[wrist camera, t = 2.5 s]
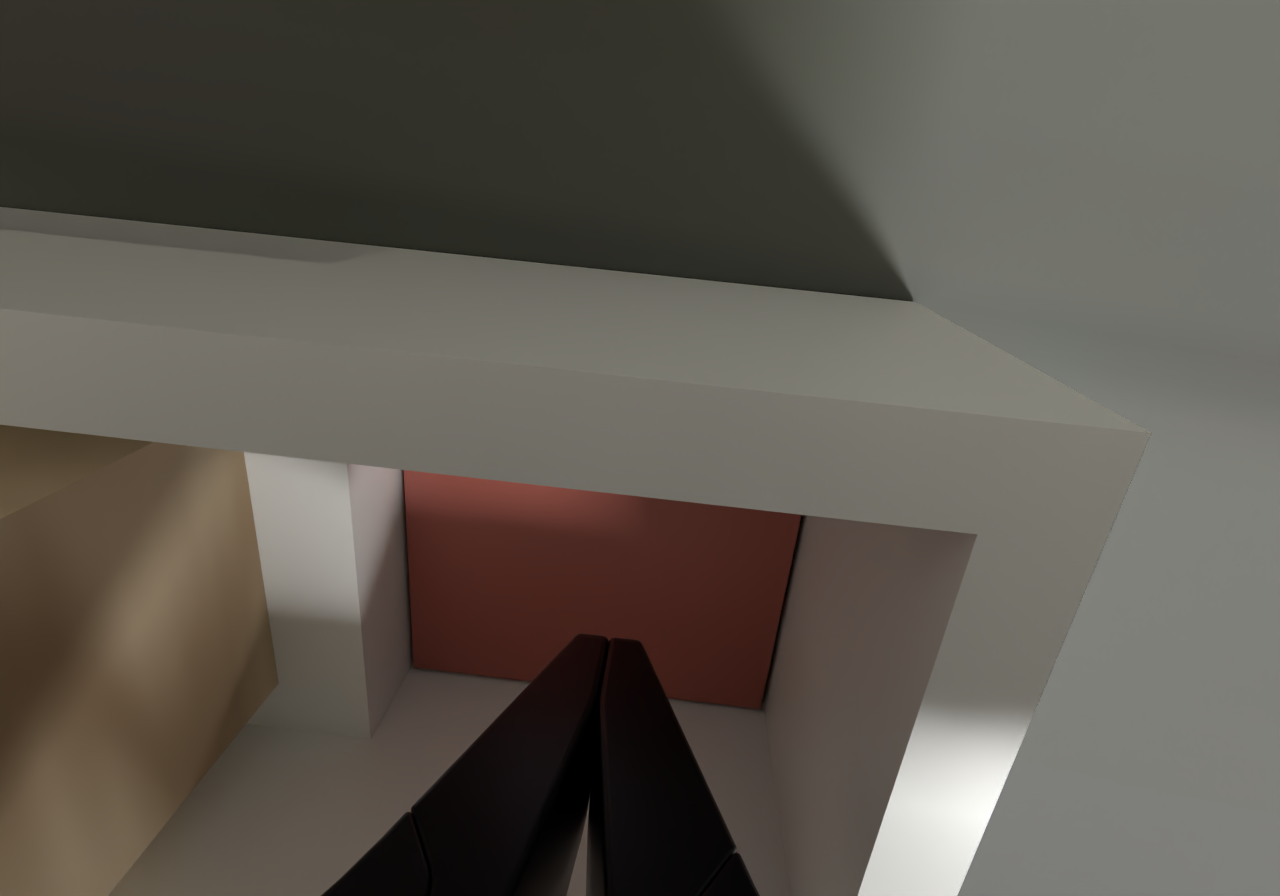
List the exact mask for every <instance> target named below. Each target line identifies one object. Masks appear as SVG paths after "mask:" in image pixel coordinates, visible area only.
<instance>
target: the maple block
mask: <svg viewBox="0 0 1280 896" xmlns="http://www.w3.org/2000/svg"><path fill="white" fill-rule="evenodd" d="M278 684H279V681H278V675H277V668H276V661H275V655H274V648H273V642H272V635H271V628H270V622H269V615H268V609H267V602H266V595H265V589H264V582H263V576H262V569H261V562H260V556H259V549H258V543H257V536H256V529H255V523H254V516H253V510H252V503H251V496H250V490H249V483H248V477H247V470H246V463H245V457H244V452H240V451H231V450H222V449H213V448H204V447H195V446H186V445H177V444H169V443H160V442H151V441H142V440H133V439H124V438H115V437H106V436H98V435H89V434H80V433H71V432H62V431H53V430H44V429H35V428H26V427H18V426H9V425H0V896H108V895H109V894H110V893H111V892H112V890H113V889H114V888H115V887H116V885H117V884H118V883H119V882H120V880H121V879H122V878H123V877H124V875H125V874H126V873H127V872H128V870H129V869H130V868H131V867H132V865H133V864H134V863H135V862H136V860H137V859H138V858H139V857H140V855H141V854H142V853H143V852H144V850H145V849H146V848H147V847H148V845H149V844H150V843H151V842H152V841H153V839H154V838H155V837H156V836H157V834H158V833H159V832H160V831H161V829H162V828H163V827H164V826H165V824H166V823H167V822H168V821H169V819H170V818H171V817H172V816H173V814H174V813H175V812H176V811H177V809H178V808H179V807H180V806H181V804H182V803H183V802H184V801H185V799H186V798H187V797H188V796H189V794H190V793H191V792H192V791H193V789H194V788H195V787H196V786H197V784H198V783H199V782H200V781H201V779H202V778H203V777H204V776H205V775H206V773H207V772H208V771H209V770H210V768H211V767H212V766H213V765H214V763H215V762H216V761H217V760H218V758H219V757H220V756H221V755H222V753H223V752H224V751H225V750H226V748H227V747H228V746H229V745H230V743H231V742H232V741H233V740H234V738H235V737H236V736H237V735H238V733H239V732H240V731H241V730H242V728H243V727H244V726H245V725H246V723H247V722H248V721H249V720H250V718H251V717H252V716H253V715H254V714H255V712H256V711H257V710H258V709H259V707H260V706H261V705H262V704H263V702H264V701H265V700H266V699H267V697H268V696H269V695H270V694H271V692H272V691H273V690H274V689H275V687H276V686H277V685H278Z"/></svg>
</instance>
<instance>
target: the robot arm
mask: <svg viewBox="0 0 1280 896" xmlns="http://www.w3.org/2000/svg"><path fill="white" fill-rule="evenodd" d="M589 799H590V801H589ZM588 805H589V813H588V830H587V867H586V896H760V895H759V893H758V891H757V889H756V887H755V885H754V883H753V880H752V878H751V876H750V874H749V872H748V870H747V867H746V865H745V863H744V861H743V859H742V857H741V855H740V854H739V853H737V847H736V845H735V842H734V840H733V838H732V836H731V834H730V832H729V829H728V827H727V825H726V823H725V821H724V819H723V816H722V814H721V812H720V810H719V808H718V806H717V804H716V801H715V799H714V797H713V795H712V793H711V791H710V788H709V786H708V784H707V782H706V780H705V778H704V775H703V773H702V771H701V769H700V767H699V765H698V763H697V760H696V758H695V756H694V754H693V752H692V750H691V747H690V745H689V743H688V741H687V739H686V737H685V734H684V732H683V730H682V728H681V726H680V724H679V722H678V719H677V717H676V715H675V713H674V711H673V709H672V706H671V704H670V702H669V700H668V698H667V696H666V693H665V691H664V689H663V687H662V685H661V683H660V681H659V678H658V676H657V674H656V672H655V670H654V668H653V665H652V663H651V661H650V659H649V657H648V655H647V652H646V650H645V648H644V646H643V644H642V643H641V642H640V641H639V640H635V639H626V638H617V637H613V638H611V640H610V641H609V640H608V638H607V637H606V636H600V635H592V634H583V633H582V634H578V635H576V636H575V637H574V638H573V639H572V640H571V641H570V642H569V643H568V644H567V645H566V646H565V647H564V649H563V650H562V651H561V652H560V653H559V654H558V655H557V656H556V657H555V658H554V659H553V660H552V661H551V662H550V663H549V664H548V665H547V666H546V667H545V668H544V669H543V670H542V671H541V672H540V673H539V675H538V676H537V677H536V678H535V679H534V680H533V681H532V682H531V683H530V684H529V685H528V686H527V687H526V688H525V689H524V690H523V691H522V692H521V693H520V694H519V695H518V696H517V697H516V698H515V700H514V701H513V702H512V703H511V704H510V705H509V706H508V707H507V708H506V709H505V710H504V711H503V712H502V713H501V714H500V715H499V716H498V717H497V718H496V719H495V720H494V721H493V722H492V723H491V725H490V726H489V727H488V728H487V729H486V730H485V731H484V732H483V733H482V734H481V735H480V736H479V737H478V738H477V739H476V740H475V741H474V742H473V743H472V744H471V745H470V746H469V747H468V748H467V749H466V751H465V752H464V753H463V754H462V755H461V756H460V757H459V758H458V759H457V760H456V761H455V762H454V763H453V764H452V765H451V766H450V767H449V768H448V769H447V770H446V771H445V772H444V773H443V774H442V776H441V777H440V778H439V779H438V780H437V781H436V782H435V783H434V784H433V785H432V786H431V787H430V788H429V789H428V790H427V791H426V792H425V793H424V794H423V795H422V796H421V797H420V798H419V799H418V801H417V802H416V803H415V804H414V805H413V806H412V807H411V812H406V813H404V815H403V816H402V817H401V818H400V819H399V820H398V821H397V822H396V823H395V824H394V825H393V826H392V827H391V828H390V829H389V830H388V831H387V832H386V833H385V835H384V836H383V837H382V838H381V839H380V840H379V841H378V842H377V843H376V844H375V845H374V846H373V847H372V848H371V849H370V850H368V851H367V852H366V853H365V854H364V855H363V856H362V857H361V858H360V859H359V860H358V861H357V862H356V863H355V864H354V865H353V866H352V867H351V868H350V869H349V870H348V871H347V872H346V873H345V874H344V875H343V876H342V877H341V878H340V879H339V880H338V881H337V882H335V883H334V884H333V885H332V886H331V887H330V888H329V889H328V890H327V891H325V892H324V893H323V894H322V895H321V896H566V895H567V891H568V888H569V884H570V880H571V876H572V872H573V868H574V865H575V861H576V857H577V853H578V849H579V846H580V842H581V838H582V834H583V830H584V825H585V821H586V817H587V811H588Z"/></svg>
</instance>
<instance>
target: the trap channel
mask: <svg viewBox="0 0 1280 896" xmlns="http://www.w3.org/2000/svg"><path fill="white" fill-rule="evenodd" d="M0 425H9V426H18V427H26V428H35V429H44V430H53V431H62V432H71V433H80V434H89V435H98V436H106V437H115V438H124V439H133V440H142V441H151V442H160V443H169V444H177V445H186V446H195V447H204V448H213V449H222V450H231V451H240V452H244V457H245V463H246V470H247V477H248V483H249V490H250V496H251V503H252V510H253V516H254V523H255V529H256V536H257V543H258V549H259V556H260V562H261V569H262V576H263V582H264V589H265V595H266V602H267V609H268V615H269V622H270V628H271V635H272V642H273V648H274V655H275V661H276V668H277V675H278V681H279V684H278V685H277V686H276V687H275V689H274V690H273V691H272V692H271V694H270V695H269V696H268V697H267V699H266V700H265V701H264V702H263V704H262V705H261V706H260V707H259V709H258V710H257V711H256V712H255V714H254V715H253V716H252V717H251V718H250V720H249V721H248V722H247V723H246V725H245V726H244V727H243V728H242V730H241V731H240V732H239V733H238V735H237V736H236V737H235V738H234V740H233V741H232V742H231V743H230V745H229V746H228V747H227V748H226V750H225V751H224V752H223V753H222V755H221V756H220V757H219V758H218V760H217V761H216V762H215V763H214V765H213V766H212V767H211V768H210V770H209V771H208V772H207V773H206V775H205V776H204V777H203V778H202V779H201V781H200V782H199V783H198V784H197V786H196V787H195V788H194V789H193V791H192V792H191V793H190V794H189V796H188V797H187V798H186V799H185V801H184V802H183V803H182V804H181V806H180V807H179V808H178V809H177V811H176V812H175V813H174V814H173V816H172V817H171V818H170V819H169V821H168V822H167V823H166V824H165V826H164V827H163V828H162V829H161V831H160V832H159V833H158V834H157V836H156V837H155V838H154V839H153V841H152V842H151V843H150V844H149V845H148V847H147V848H146V849H145V850H144V852H143V853H142V854H141V855H140V857H139V858H138V859H137V860H136V862H135V863H134V864H133V865H132V867H131V868H130V869H129V870H128V872H127V873H126V874H125V875H124V877H123V878H122V879H121V880H120V882H119V883H118V884H117V885H116V887H115V888H114V889H113V890H112V892H111V893H110V894H109V895H108V896H321V895H322V894H323V893H324V892H325V891H327V890H328V889H329V888H330V887H331V886H332V885H333V884H334V883H335V882H337V881H338V880H339V879H340V878H341V877H342V876H343V875H344V874H345V873H346V872H347V871H348V870H349V869H350V868H351V867H352V866H353V865H354V864H355V863H356V862H357V861H358V860H359V859H360V858H361V857H362V856H363V855H364V854H365V853H366V852H367V851H368V850H370V849H371V848H372V847H373V846H374V845H375V844H376V843H377V842H378V841H379V840H380V839H381V838H382V837H383V836H384V835H385V833H386V832H387V831H388V830H389V829H390V828H391V827H392V826H393V825H394V824H395V823H396V822H397V821H398V820H399V819H400V818H401V817H402V816H403V815H404V813H406V812H411V807H412V806H413V805H414V804H415V803H416V802H417V801H418V799H419V798H420V797H421V796H422V795H423V794H424V793H425V792H426V791H427V790H428V789H429V788H430V787H431V786H432V785H433V784H434V783H435V782H436V781H437V780H438V779H439V778H440V777H441V776H442V774H443V773H444V772H445V771H446V770H447V769H448V768H449V767H450V766H451V765H452V764H453V763H454V762H455V761H456V760H457V759H458V758H459V757H460V756H461V755H462V754H463V753H464V752H465V751H466V749H467V748H468V747H469V746H470V745H471V744H472V743H473V742H474V741H475V740H476V739H477V738H478V737H479V736H480V735H481V734H482V733H483V732H484V731H485V730H486V729H487V728H488V727H489V726H490V725H491V723H492V722H493V721H494V720H495V719H496V718H497V717H498V716H499V715H500V714H501V713H502V712H503V711H504V710H505V709H506V708H507V707H508V706H509V705H510V704H511V703H512V702H513V701H514V700H515V698H516V697H517V696H518V695H519V694H520V693H521V692H522V691H523V690H524V689H525V688H526V687H527V686H528V685H529V684H530V683H531V682H532V681H533V680H534V679H535V678H536V677H537V676H538V675H539V673H540V672H541V671H542V670H543V669H544V668H545V667H546V666H547V665H548V664H549V663H550V662H551V661H552V660H553V659H554V658H555V657H556V656H557V655H558V654H559V653H560V652H561V651H562V650H563V649H564V647H565V646H566V645H567V644H568V643H569V642H570V641H571V640H572V639H573V638H574V637H575V636H576V635H578V634H582V633H583V634H592V635H600V636H606V637H607V638H608V640H609V641H610V640H611V638H613V637H617V638H626V639H635V640H639V641H640V642H641V643H642V644H643V646H644V648H645V650H646V652H647V655H648V657H649V659H650V661H651V663H652V665H653V668H654V670H655V672H656V674H657V676H658V678H659V681H660V683H661V685H662V687H663V689H664V691H665V693H666V696H667V698H668V700H669V702H670V704H671V706H672V709H673V711H674V713H675V715H676V717H677V719H678V722H679V724H680V726H681V728H682V730H683V732H684V734H685V737H686V739H687V741H688V743H689V745H690V747H691V750H692V752H693V754H694V756H695V758H696V760H697V763H698V765H699V767H700V769H701V771H702V773H703V775H704V778H705V780H706V782H707V784H708V786H709V788H710V791H711V793H712V795H713V797H714V799H715V801H716V804H717V806H718V808H719V810H720V812H721V814H722V816H723V819H724V821H725V823H726V825H727V827H728V829H729V832H730V834H731V836H732V838H733V840H734V842H735V845H736V847H737V853H739V854H740V855H741V857H742V859H743V861H744V863H745V865H746V867H747V870H748V872H749V874H750V876H751V878H752V880H753V883H754V885H755V887H756V889H757V891H758V893H759V895H760V896H957V895H958V893H959V890H960V888H961V885H962V883H963V881H964V878H965V876H966V874H967V871H968V869H969V866H970V864H971V862H972V859H973V857H974V855H975V852H976V850H977V847H978V845H979V843H980V840H981V838H982V835H983V833H984V831H985V828H986V826H987V824H988V821H989V819H990V816H991V814H992V812H993V809H994V807H995V805H996V802H997V800H998V797H999V795H1000V793H1001V790H1002V788H1003V786H1004V783H1005V781H1006V778H1007V776H1008V774H1009V771H1010V769H1011V767H1012V764H1013V762H1014V759H1015V757H1016V755H1017V752H1018V750H1019V747H1020V745H1021V743H1022V740H1023V738H1024V736H1025V733H1026V731H1027V728H1028V726H1029V724H1030V721H1031V719H1032V717H1033V714H1034V712H1035V709H1036V707H1037V705H1038V702H1039V700H1040V698H1041V695H1042V693H1043V690H1044V688H1045V686H1046V683H1047V681H1048V678H1049V676H1050V674H1051V671H1052V669H1053V667H1054V664H1055V662H1056V659H1057V657H1058V655H1059V652H1060V650H1061V648H1062V645H1063V643H1064V640H1065V638H1066V636H1067V633H1068V631H1069V629H1070V626H1071V624H1072V621H1073V619H1074V617H1075V614H1076V612H1077V610H1078V607H1079V605H1080V602H1081V600H1082V598H1083V595H1084V593H1085V590H1086V588H1087V586H1088V583H1089V581H1090V579H1091V576H1092V574H1093V571H1094V569H1095V567H1096V564H1097V562H1098V560H1099V557H1100V555H1101V552H1102V550H1103V548H1104V545H1105V543H1106V541H1107V538H1108V536H1109V533H1110V531H1111V529H1112V526H1113V524H1114V521H1115V519H1116V517H1117V514H1118V512H1119V510H1120V507H1121V505H1122V502H1123V500H1124V498H1125V495H1126V493H1127V491H1128V488H1129V486H1130V483H1131V481H1132V479H1133V476H1134V474H1135V472H1136V469H1137V467H1138V464H1139V462H1140V460H1141V457H1142V455H1143V453H1144V450H1145V448H1146V445H1147V443H1148V441H1149V438H1150V436H1151V432H1149V431H1147V430H1145V429H1143V428H1142V427H1140V426H1138V425H1136V424H1134V423H1133V422H1131V421H1129V420H1127V419H1125V418H1124V417H1122V416H1120V415H1118V414H1116V413H1115V412H1113V411H1111V410H1109V409H1107V408H1106V407H1104V406H1102V405H1100V404H1098V403H1097V402H1095V401H1093V400H1091V399H1089V398H1088V397H1086V396H1084V395H1082V394H1080V393H1079V392H1077V391H1075V390H1073V389H1071V388H1070V387H1068V386H1066V385H1064V384H1062V383H1061V382H1059V381H1057V380H1055V379H1053V378H1052V377H1050V376H1048V375H1046V374H1044V373H1043V372H1041V371H1039V370H1037V369H1035V368H1034V367H1032V366H1030V365H1028V364H1026V363H1025V362H1023V361H1021V360H1019V359H1017V358H1016V357H1014V356H1012V355H1010V354H1008V353H1007V352H1005V351H1003V350H1001V349H999V348H998V347H996V346H994V345H992V344H990V343H989V342H987V341H985V340H983V339H981V338H980V337H978V336H976V335H974V334H972V333H971V332H969V331H967V330H965V329H963V328H962V327H960V326H958V325H956V324H954V323H953V322H951V321H949V320H947V319H945V318H944V317H942V316H940V315H938V314H936V313H935V312H933V311H931V310H929V309H927V308H926V307H924V306H922V305H920V304H918V303H917V302H911V301H901V300H891V299H882V298H872V297H862V296H853V295H843V294H834V293H824V292H814V291H805V290H795V289H786V288H776V287H766V286H757V285H747V284H737V283H728V282H718V281H709V280H699V279H689V278H680V277H670V276H661V275H651V274H641V273H632V272H622V271H612V270H603V269H593V268H584V267H574V266H564V265H555V264H545V263H536V262H526V261H516V260H507V259H497V258H487V257H478V256H468V255H459V254H449V253H439V252H430V251H420V250H411V249H401V248H391V247H382V246H372V245H362V244H353V243H343V242H334V241H324V240H314V239H305V238H295V237H286V236H276V235H266V234H257V233H247V232H238V231H228V230H218V229H209V228H199V227H189V226H180V225H170V224H161V223H151V222H141V221H132V220H122V219H113V218H103V217H93V216H84V215H74V214H64V213H55V212H45V211H36V210H26V209H16V208H7V207H0ZM801 515H803V516H802V521H801V526H800V531H799V535H798V540H797V545H796V549H795V554H794V559H793V564H792V568H791V573H790V578H789V582H788V587H787V592H786V596H785V601H784V606H783V611H782V615H781V620H780V625H779V629H778V634H777V639H776V644H775V648H774V653H773V658H772V662H771V667H770V672H769V677H768V681H767V686H766V691H765V695H764V700H763V702H762V699H763V694H764V690H765V685H766V680H767V675H768V671H769V666H770V661H771V656H772V652H773V647H774V642H775V637H776V633H777V628H778V623H779V619H780V614H781V609H782V604H783V600H784V595H785V590H786V585H787V581H788V576H789V571H790V566H791V562H792V557H793V552H794V548H795V543H796V538H797V533H798V529H799V524H800V519H801ZM589 801H590V799H589ZM588 813H589V805H588V811H587V817H586V821H585V825H584V830H583V834H582V838H581V842H580V846H579V849H578V853H577V857H576V861H575V865H574V868H573V872H572V876H571V880H570V884H569V888H568V891H567V895H566V896H586V867H587V830H588Z"/></svg>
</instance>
